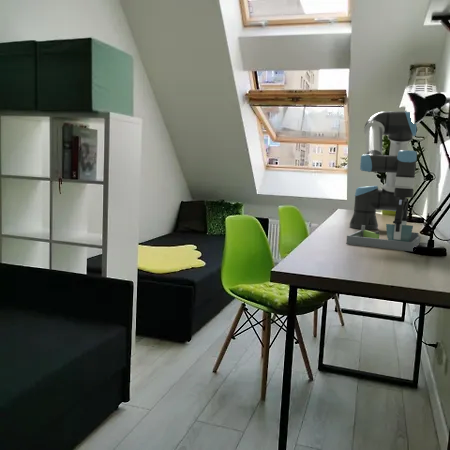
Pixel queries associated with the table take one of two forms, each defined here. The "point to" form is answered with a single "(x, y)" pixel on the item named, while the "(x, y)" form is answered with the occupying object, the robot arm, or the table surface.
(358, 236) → the grey desk tray
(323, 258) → the table surface
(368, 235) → the gate
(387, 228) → the flower pot
